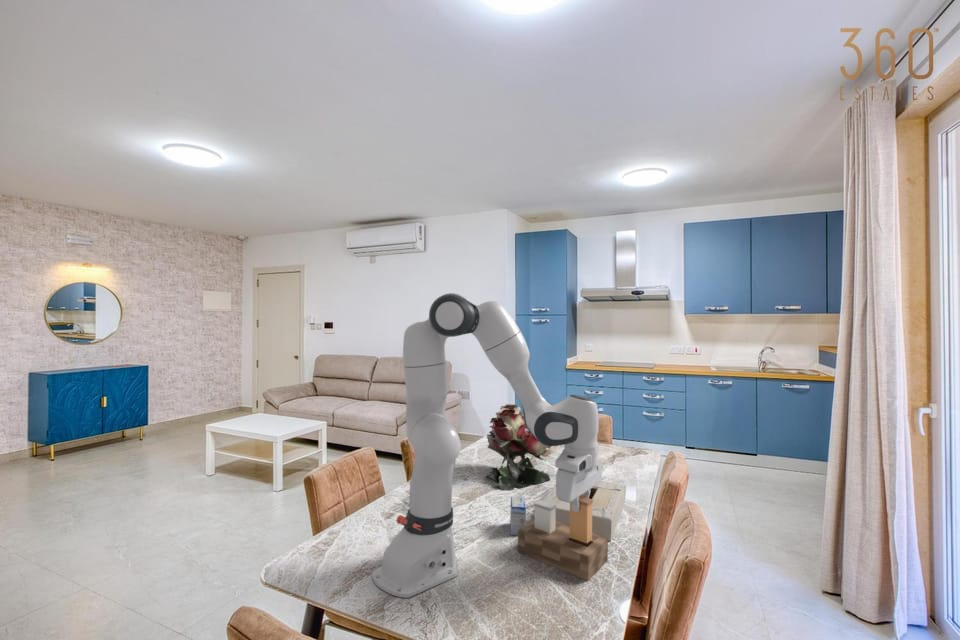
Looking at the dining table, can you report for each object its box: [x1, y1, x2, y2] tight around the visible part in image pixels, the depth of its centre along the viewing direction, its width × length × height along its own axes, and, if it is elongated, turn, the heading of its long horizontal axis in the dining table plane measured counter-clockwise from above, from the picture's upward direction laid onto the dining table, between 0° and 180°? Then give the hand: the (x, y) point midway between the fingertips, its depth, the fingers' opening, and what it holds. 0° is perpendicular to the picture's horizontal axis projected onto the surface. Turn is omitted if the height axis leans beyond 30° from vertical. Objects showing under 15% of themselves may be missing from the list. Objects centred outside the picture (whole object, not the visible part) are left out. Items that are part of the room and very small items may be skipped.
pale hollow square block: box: [541, 480, 627, 542], centre depth 146 cm, size 23×8×32 cm
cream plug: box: [533, 499, 556, 534], centre depth 123 cm, size 3×5×10 cm, turn 51°
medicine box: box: [509, 496, 527, 536], centre depth 134 cm, size 8×4×9 cm, turn 178°
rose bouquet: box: [484, 403, 552, 491], centre depth 182 cm, size 26×29×30 cm
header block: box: [517, 519, 609, 582], centre depth 119 cm, size 12×21×6 cm, turn 51°
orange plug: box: [570, 496, 593, 543], centre depth 116 cm, size 3×5×10 cm, turn 51°
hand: (580, 508), depth 116 cm, fingers closed on orange plug, 3 cm apart
